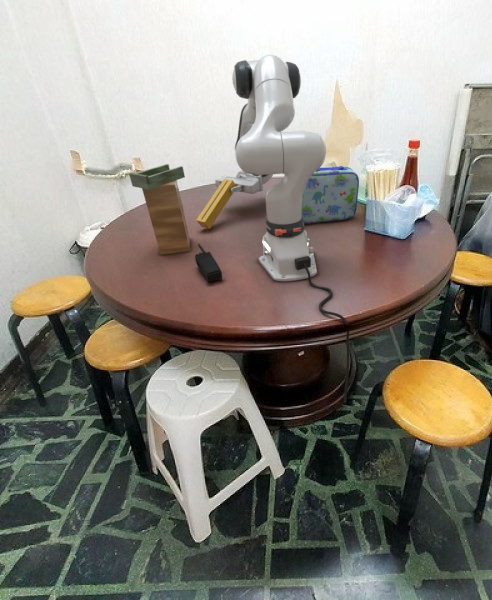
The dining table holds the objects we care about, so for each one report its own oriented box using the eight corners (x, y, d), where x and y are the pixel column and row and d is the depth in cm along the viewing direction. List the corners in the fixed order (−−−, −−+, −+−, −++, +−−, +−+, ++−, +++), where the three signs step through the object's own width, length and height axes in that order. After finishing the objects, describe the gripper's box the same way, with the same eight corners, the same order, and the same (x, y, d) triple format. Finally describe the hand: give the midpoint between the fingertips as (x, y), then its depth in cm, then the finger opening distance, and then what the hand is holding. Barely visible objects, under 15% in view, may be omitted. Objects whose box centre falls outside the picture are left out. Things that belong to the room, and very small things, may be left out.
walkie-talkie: (200, 280, 104) (182, 249, 117) (216, 288, 108) (197, 257, 121) (213, 264, 103) (192, 234, 116) (228, 273, 107) (207, 243, 120)
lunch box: (350, 211, 153) (353, 161, 141) (358, 220, 144) (363, 167, 132) (292, 217, 149) (290, 165, 137) (296, 226, 140) (295, 173, 128)
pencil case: (228, 185, 146) (224, 178, 143) (237, 187, 144) (232, 179, 141) (201, 226, 139) (195, 220, 136) (209, 228, 137) (204, 222, 134)
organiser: (177, 235, 136) (159, 161, 120) (204, 242, 130) (189, 166, 114) (146, 250, 125) (122, 172, 110) (173, 259, 119) (152, 177, 104)
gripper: (226, 170, 154) (204, 178, 144) (264, 176, 145) (243, 185, 136) (228, 184, 158) (207, 193, 148) (265, 191, 149) (245, 201, 139)
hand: (225, 189), depth 142 cm, fingers closed on pencil case, 4 cm apart
